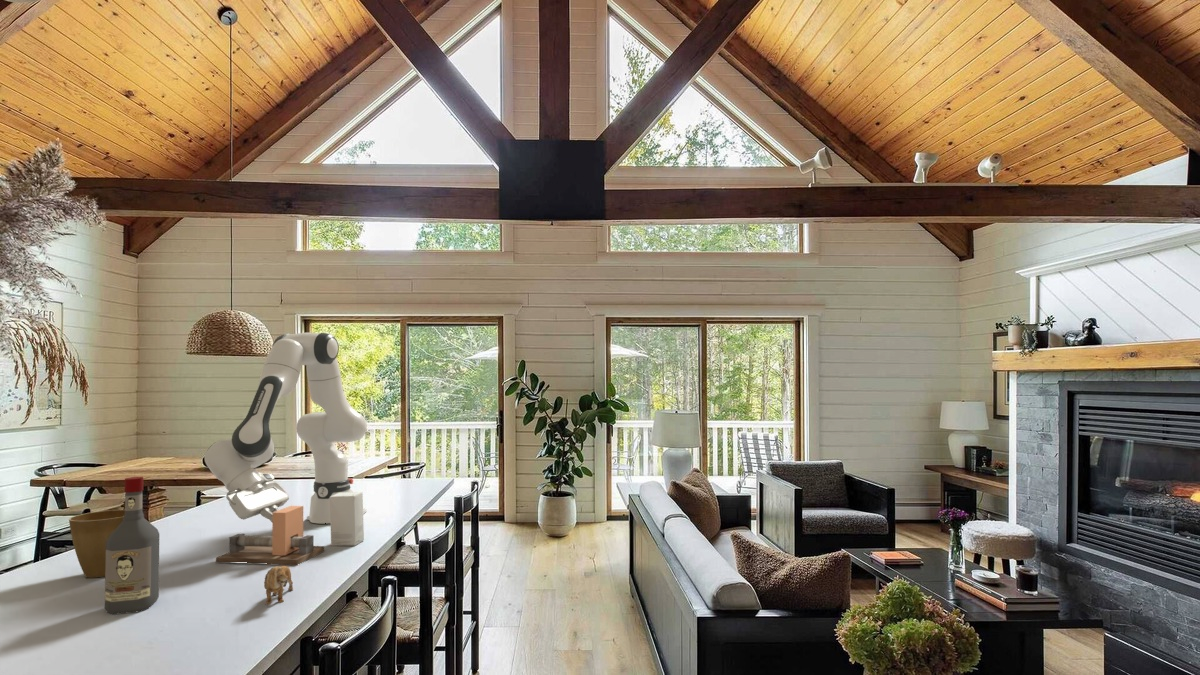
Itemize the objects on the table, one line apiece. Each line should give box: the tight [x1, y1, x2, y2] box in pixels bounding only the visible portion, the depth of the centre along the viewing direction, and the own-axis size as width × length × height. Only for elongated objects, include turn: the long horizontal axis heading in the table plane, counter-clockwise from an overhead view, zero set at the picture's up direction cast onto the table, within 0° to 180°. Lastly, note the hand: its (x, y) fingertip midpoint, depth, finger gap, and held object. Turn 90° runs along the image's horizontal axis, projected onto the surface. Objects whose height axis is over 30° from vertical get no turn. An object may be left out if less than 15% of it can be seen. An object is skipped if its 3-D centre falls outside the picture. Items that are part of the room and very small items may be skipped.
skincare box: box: [329, 491, 365, 547], centre depth 210 cm, size 8×7×16 cm
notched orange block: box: [271, 505, 304, 555], centre depth 196 cm, size 9×4×12 cm, turn 173°
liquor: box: [104, 476, 160, 615], centre depth 157 cm, size 9×9×30 cm
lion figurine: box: [263, 565, 294, 605], centre depth 162 cm, size 15×5×9 cm, turn 18°
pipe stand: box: [215, 533, 325, 566], centre depth 196 cm, size 14×25×6 cm, turn 83°
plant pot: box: [68, 509, 125, 579], centre depth 182 cm, size 15×15×16 cm
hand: (277, 520), depth 196 cm, fingers closed
